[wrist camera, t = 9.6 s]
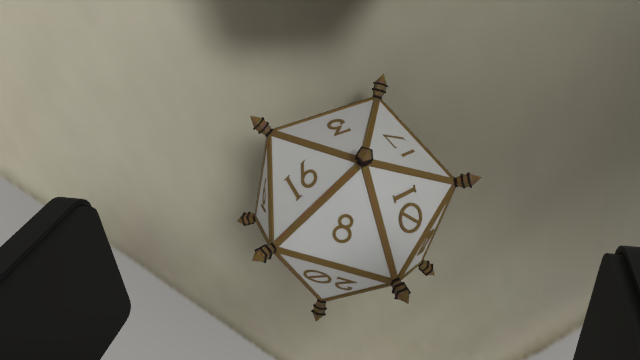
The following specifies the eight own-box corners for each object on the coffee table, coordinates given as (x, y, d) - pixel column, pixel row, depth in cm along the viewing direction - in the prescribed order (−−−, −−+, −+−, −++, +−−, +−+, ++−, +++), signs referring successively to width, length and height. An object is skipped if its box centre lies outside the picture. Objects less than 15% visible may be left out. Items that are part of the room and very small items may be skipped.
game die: (254, 47, 23) (200, 267, 24) (291, 28, 15) (208, 359, 16) (437, 100, 26) (380, 298, 27) (554, 109, 18) (466, 392, 19)
